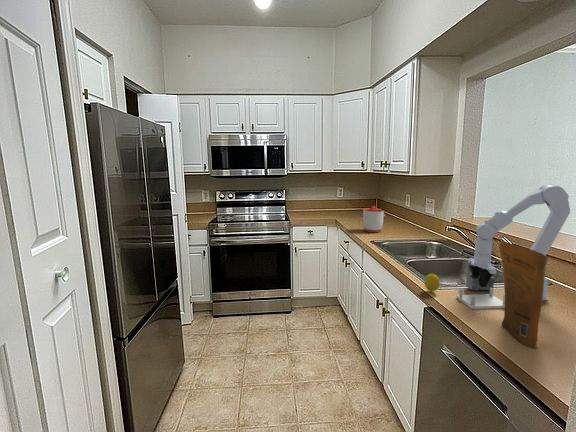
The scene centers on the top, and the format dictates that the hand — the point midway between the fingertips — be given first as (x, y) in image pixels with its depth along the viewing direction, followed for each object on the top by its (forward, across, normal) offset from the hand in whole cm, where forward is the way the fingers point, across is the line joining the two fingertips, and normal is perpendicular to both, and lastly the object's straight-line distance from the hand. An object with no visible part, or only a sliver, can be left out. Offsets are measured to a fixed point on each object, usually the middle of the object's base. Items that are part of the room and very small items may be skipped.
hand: (479, 284), depth 132 cm
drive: (+2, 0, 0) cm, 2 cm away
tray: (+2, +12, -7) cm, 14 cm away
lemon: (+2, +1, -21) cm, 21 cm away
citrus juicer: (+2, -114, -7) cm, 114 cm away
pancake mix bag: (+2, +34, -11) cm, 36 cm away
